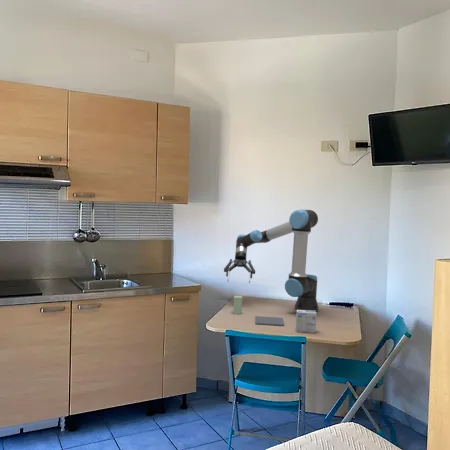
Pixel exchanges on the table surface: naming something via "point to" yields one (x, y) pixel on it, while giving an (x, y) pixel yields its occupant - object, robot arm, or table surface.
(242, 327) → the table surface
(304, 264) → the robot arm
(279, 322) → the mat
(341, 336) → the table surface
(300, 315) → the light bulb box
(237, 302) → the sage block
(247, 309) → the table surface
